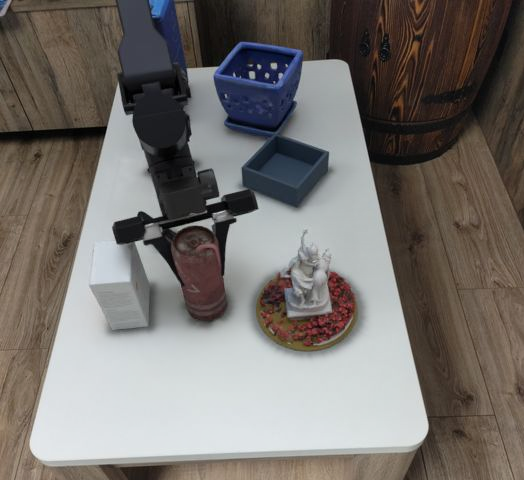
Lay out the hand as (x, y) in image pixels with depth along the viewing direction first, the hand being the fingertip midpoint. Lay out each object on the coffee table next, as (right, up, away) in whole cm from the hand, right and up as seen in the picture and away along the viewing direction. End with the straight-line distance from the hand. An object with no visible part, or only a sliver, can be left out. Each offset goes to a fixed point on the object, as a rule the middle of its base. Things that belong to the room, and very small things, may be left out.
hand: (203, 281), depth 68 cm
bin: (+12, +22, +22) cm, 33 cm away
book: (-10, +41, +36) cm, 56 cm away
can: (0, -3, +7) cm, 8 cm away
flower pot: (+8, +36, +32) cm, 49 cm away
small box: (-12, -3, +8) cm, 14 cm away
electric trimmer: (-7, +7, +14) cm, 17 cm away
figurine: (+15, -3, +6) cm, 16 cm away
